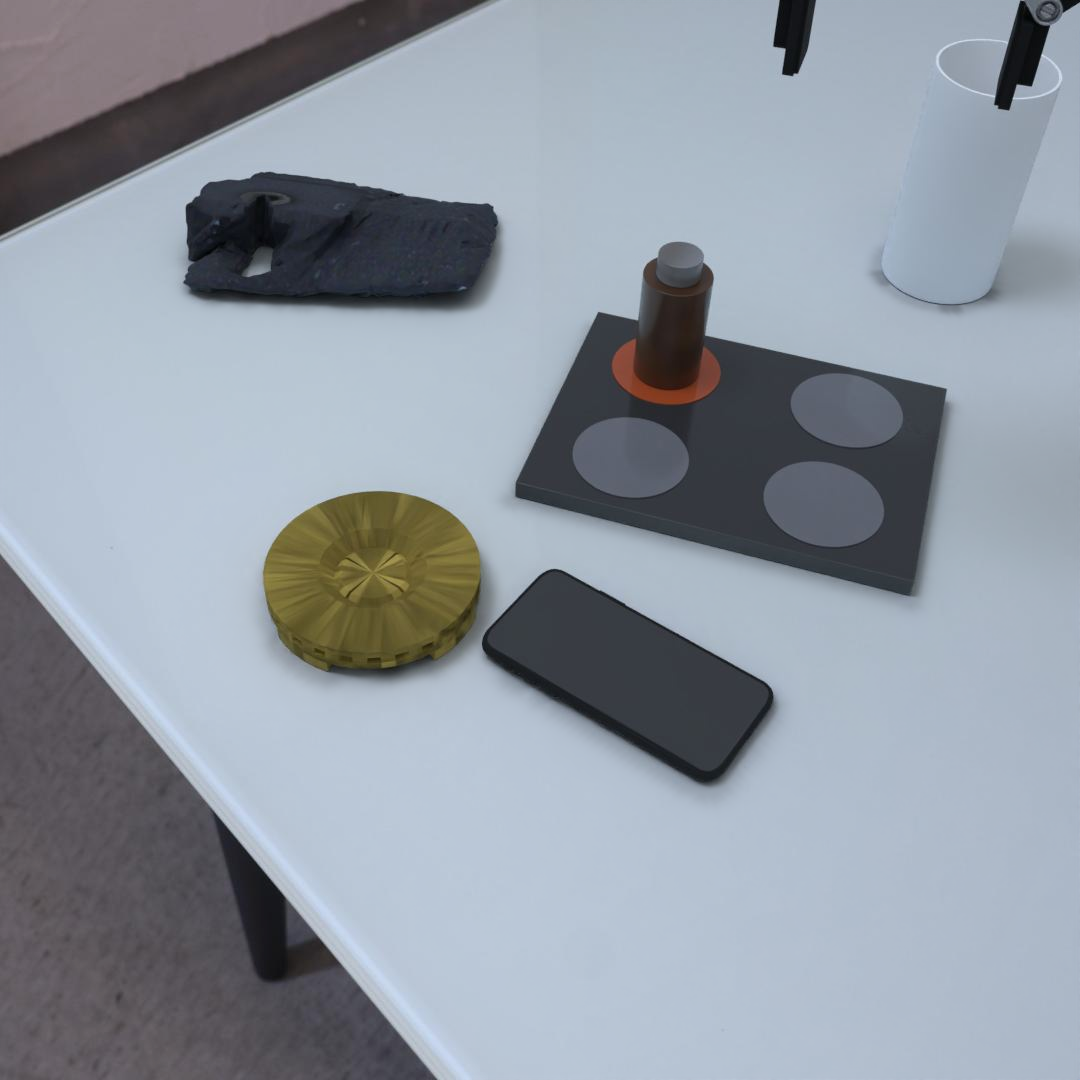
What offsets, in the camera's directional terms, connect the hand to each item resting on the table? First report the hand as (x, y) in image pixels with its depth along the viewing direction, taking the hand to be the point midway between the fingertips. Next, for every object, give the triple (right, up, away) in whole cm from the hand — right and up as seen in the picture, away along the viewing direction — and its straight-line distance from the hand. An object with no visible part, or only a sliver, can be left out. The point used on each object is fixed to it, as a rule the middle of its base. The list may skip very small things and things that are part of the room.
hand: (897, 79), depth 61 cm
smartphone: (-12, -29, +10) cm, 33 cm away
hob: (-4, -15, +23) cm, 28 cm away
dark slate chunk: (-31, 0, +36) cm, 48 cm away
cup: (+13, -2, +37) cm, 39 cm away
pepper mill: (-8, -10, +26) cm, 29 cm away
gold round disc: (-26, -25, +14) cm, 38 cm away
